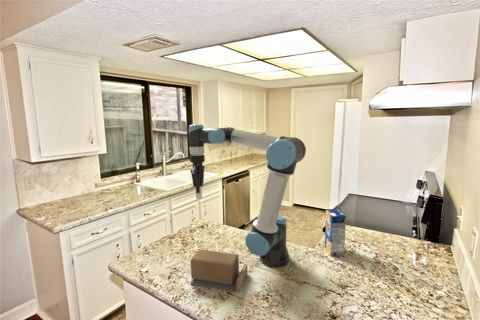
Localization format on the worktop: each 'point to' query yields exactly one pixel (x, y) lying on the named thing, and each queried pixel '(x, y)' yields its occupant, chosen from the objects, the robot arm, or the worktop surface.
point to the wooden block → (215, 267)
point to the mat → (216, 285)
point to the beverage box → (335, 232)
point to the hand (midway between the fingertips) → (199, 198)
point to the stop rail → (241, 278)
